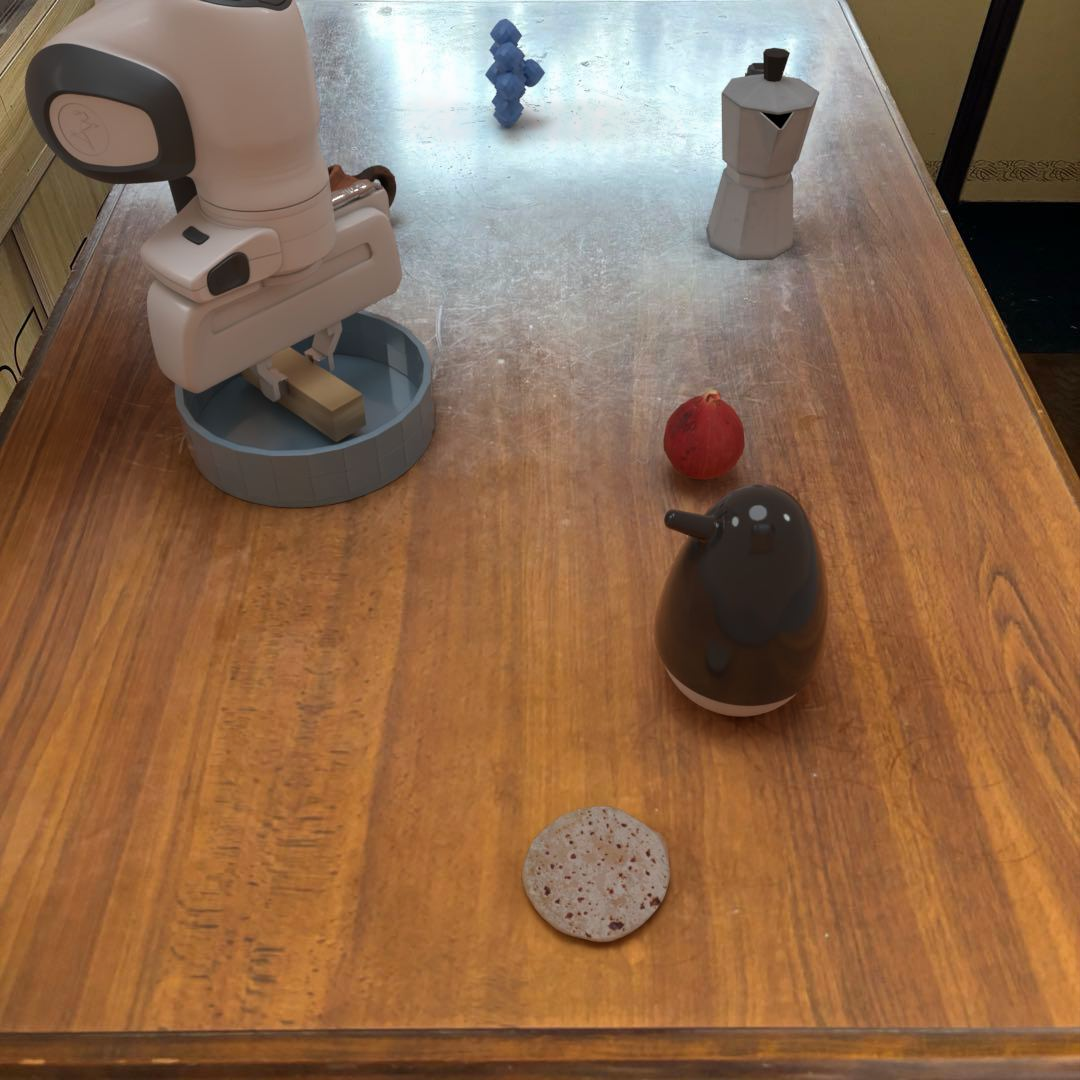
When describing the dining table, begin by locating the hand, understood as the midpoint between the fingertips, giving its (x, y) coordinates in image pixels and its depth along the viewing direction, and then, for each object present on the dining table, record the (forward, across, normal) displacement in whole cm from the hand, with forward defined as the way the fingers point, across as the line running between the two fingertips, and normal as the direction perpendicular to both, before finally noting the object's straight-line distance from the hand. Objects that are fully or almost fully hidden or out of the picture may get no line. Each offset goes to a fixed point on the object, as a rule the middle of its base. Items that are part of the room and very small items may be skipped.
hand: (298, 383), depth 86 cm
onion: (+3, -16, +28) cm, 32 cm away
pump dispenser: (+3, -2, +40) cm, 41 cm away
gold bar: (+2, 0, 0) cm, 2 cm away
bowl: (+3, 0, +2) cm, 4 cm away
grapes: (+3, -51, -26) cm, 57 cm away
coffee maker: (+3, -49, +8) cm, 50 cm away
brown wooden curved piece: (+3, -21, -20) cm, 29 cm away
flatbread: (+3, +14, +44) cm, 46 cm away
